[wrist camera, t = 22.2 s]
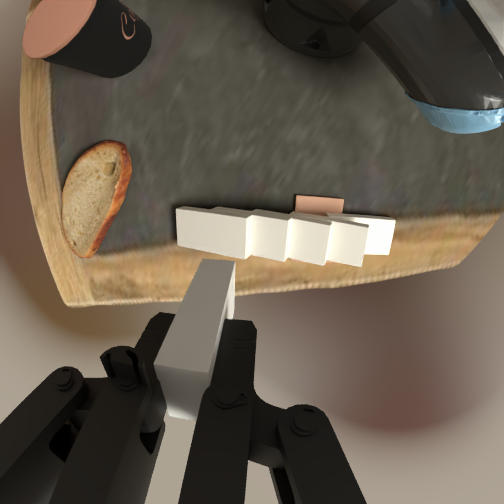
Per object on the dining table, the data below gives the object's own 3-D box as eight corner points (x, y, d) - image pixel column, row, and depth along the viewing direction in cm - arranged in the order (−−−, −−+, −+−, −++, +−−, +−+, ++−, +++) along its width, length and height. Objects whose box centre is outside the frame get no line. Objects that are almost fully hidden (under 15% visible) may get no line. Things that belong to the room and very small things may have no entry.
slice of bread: (79, 260, 44) (68, 268, 41) (49, 170, 37) (36, 173, 34) (158, 239, 42) (150, 248, 39) (127, 131, 35) (115, 131, 32)
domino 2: (211, 246, 40) (284, 261, 36) (211, 209, 38) (288, 220, 34) (217, 242, 41) (287, 256, 38) (217, 206, 39) (291, 217, 35)
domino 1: (177, 245, 40) (245, 259, 36) (175, 208, 38) (246, 218, 34) (184, 241, 41) (250, 254, 38) (183, 206, 39) (252, 215, 36)
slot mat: (290, 259, 42) (290, 260, 42) (296, 194, 38) (296, 195, 38) (334, 261, 42) (334, 262, 41) (342, 198, 38) (343, 199, 38)
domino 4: (286, 251, 39) (361, 267, 35) (289, 213, 37) (368, 227, 33) (289, 247, 41) (362, 262, 37) (292, 211, 39) (369, 224, 35)
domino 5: (324, 253, 39) (388, 254, 39) (329, 215, 37) (395, 220, 37) (321, 248, 41) (383, 250, 41) (325, 212, 38) (390, 217, 39)
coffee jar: (164, 54, 30) (104, 8, 14) (107, 91, 32) (28, 77, 16) (142, 10, 27) (86, -38, 10) (89, 47, 29) (18, 22, 12)
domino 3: (249, 249, 40) (323, 265, 36) (250, 211, 38) (330, 225, 34) (254, 245, 41) (326, 260, 37) (256, 208, 39) (332, 222, 35)
